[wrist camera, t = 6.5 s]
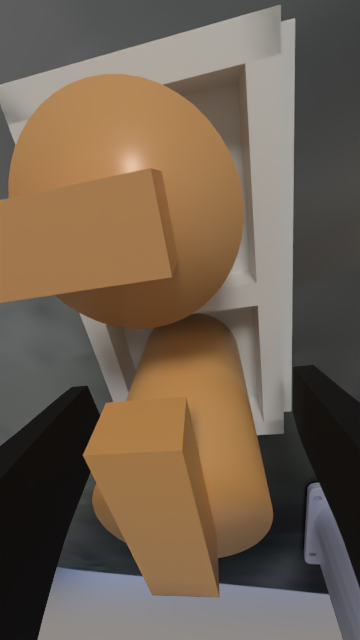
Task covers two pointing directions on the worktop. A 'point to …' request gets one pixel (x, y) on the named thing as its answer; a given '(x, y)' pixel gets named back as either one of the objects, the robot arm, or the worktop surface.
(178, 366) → the peg
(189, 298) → the housing
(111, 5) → the worktop surface
